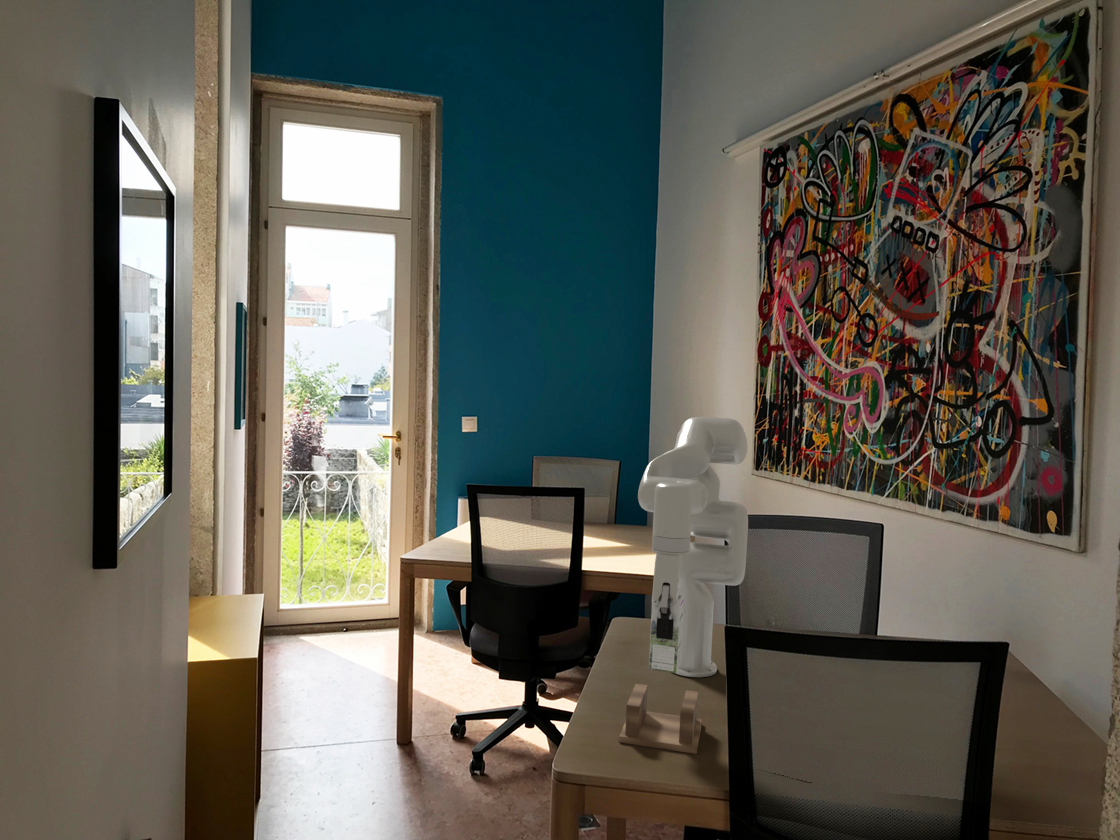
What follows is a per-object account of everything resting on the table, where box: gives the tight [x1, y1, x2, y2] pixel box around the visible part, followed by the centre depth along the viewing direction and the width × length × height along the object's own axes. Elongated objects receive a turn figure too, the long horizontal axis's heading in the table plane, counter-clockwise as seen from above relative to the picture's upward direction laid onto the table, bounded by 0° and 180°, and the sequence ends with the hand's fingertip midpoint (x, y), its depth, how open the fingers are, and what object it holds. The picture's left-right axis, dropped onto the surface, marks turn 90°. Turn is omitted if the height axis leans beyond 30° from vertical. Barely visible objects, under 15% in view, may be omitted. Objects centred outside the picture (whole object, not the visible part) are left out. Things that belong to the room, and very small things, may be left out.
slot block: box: [618, 683, 703, 755], centre depth 163 cm, size 14×15×7 cm
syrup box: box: [648, 595, 684, 674], centre depth 162 cm, size 6×6×14 cm
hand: (666, 632), depth 162 cm, fingers closed on syrup box, 5 cm apart
